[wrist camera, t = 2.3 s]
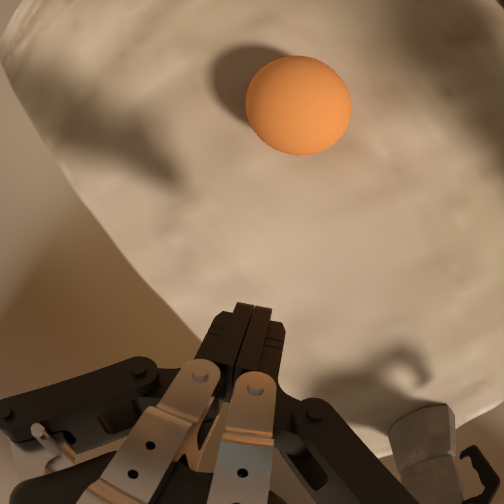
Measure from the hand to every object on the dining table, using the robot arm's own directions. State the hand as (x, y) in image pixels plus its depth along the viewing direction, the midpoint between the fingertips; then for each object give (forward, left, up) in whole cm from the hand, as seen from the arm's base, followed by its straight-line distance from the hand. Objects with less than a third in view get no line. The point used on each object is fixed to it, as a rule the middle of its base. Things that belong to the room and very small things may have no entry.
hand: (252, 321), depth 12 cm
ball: (0, -9, -6) cm, 11 cm away
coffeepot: (-22, +20, -9) cm, 31 cm away
